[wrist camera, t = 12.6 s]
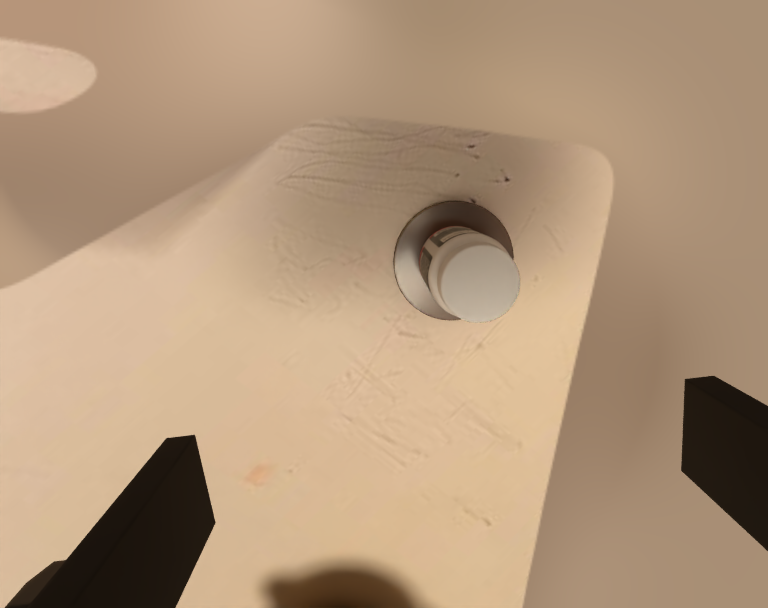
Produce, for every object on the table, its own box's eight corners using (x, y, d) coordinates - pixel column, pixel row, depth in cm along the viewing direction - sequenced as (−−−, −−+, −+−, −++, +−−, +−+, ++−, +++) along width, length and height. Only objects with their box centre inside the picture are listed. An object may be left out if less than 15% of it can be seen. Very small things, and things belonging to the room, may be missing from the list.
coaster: (387, 207, 31) (388, 208, 31) (509, 194, 31) (511, 195, 31) (399, 324, 33) (399, 326, 33) (513, 312, 33) (515, 314, 33)
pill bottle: (462, 308, 33) (491, 349, 24) (404, 271, 32) (414, 300, 24) (503, 250, 32) (547, 272, 24) (445, 210, 31) (470, 219, 23)
